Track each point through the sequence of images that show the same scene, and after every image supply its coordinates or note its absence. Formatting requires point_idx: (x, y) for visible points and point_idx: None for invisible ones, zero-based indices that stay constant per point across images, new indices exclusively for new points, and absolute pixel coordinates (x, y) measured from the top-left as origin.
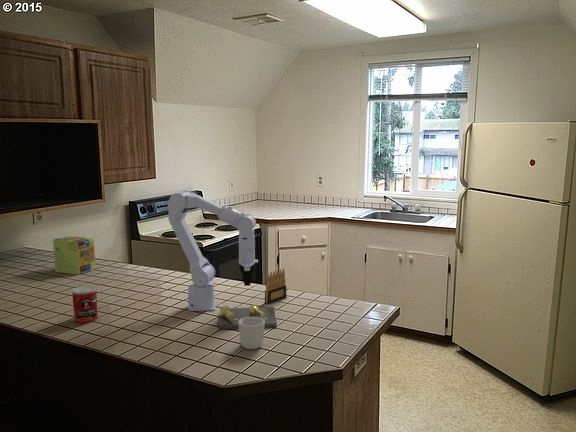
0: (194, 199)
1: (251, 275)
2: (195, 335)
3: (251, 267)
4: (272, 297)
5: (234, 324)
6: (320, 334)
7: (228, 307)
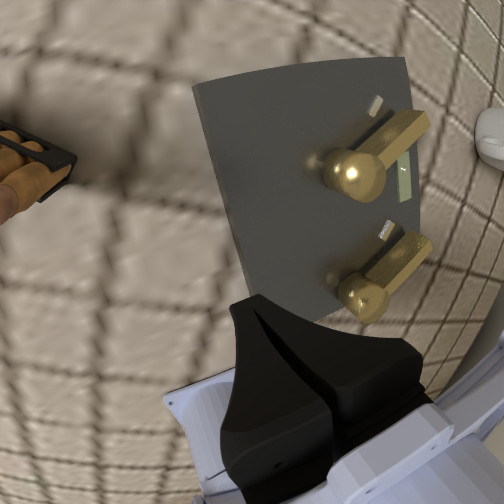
0: None
1: (333, 332)
2: (431, 298)
3: (372, 404)
4: (33, 144)
5: (419, 219)
6: None
7: (374, 293)
